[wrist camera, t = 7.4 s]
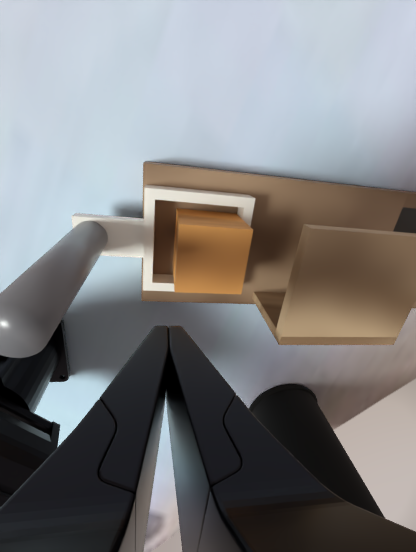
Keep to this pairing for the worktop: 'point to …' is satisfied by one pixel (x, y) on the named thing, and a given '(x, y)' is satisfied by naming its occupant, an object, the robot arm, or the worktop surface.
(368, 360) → the worktop surface
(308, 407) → the aerosol can
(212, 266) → the block
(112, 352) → the worktop surface
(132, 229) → the sled
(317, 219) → the tan piece
